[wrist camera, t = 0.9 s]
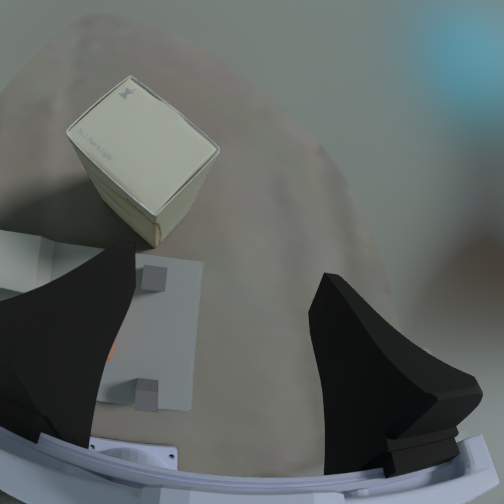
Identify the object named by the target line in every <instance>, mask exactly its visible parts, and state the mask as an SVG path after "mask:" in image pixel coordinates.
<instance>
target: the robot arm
mask: <svg viewBox="0 0 504 504" xmlns="http://www.w3.org/2000/svg"><path fill="white" fill-rule="evenodd" d="M135 288H136V243H135V242H129V241H124V240H120V241H118V242H116V243H114V244H113V245H111V246H110V247H108V248H107V249H105V250H103V251H102V252H100V253H99V254H97V255H96V256H94V257H93V258H91V259H90V260H88V261H86V262H85V263H83V264H81V265H80V266H78V267H76V268H75V269H73V270H71V271H70V272H68V273H66V274H65V275H63V276H61V277H59V278H57V279H55V280H53V281H51V282H49V283H47V284H45V285H43V286H40V287H38V288H35V289H33V290H30V291H28V292H25V293H23V294H20V295H18V296H15V297H12V298H8V299H5V300H2V301H0V490H2V491H3V492H5V493H7V494H9V495H10V496H12V497H14V498H16V499H18V500H20V501H22V502H24V503H25V504H465V503H467V502H468V501H471V500H473V499H474V498H476V497H478V496H480V495H481V494H484V493H485V492H487V491H489V490H490V489H492V488H494V487H495V486H497V485H498V484H499V480H498V477H497V474H496V471H495V468H494V465H493V462H492V460H491V457H490V455H489V452H488V449H487V446H486V444H485V441H484V439H483V437H482V434H478V435H475V436H472V437H470V438H466V439H464V440H462V441H460V442H458V443H456V441H455V438H454V437H456V436H457V435H458V433H459V432H458V430H457V427H456V426H457V425H458V424H459V423H460V422H461V421H463V420H464V419H465V418H466V417H467V416H468V415H469V414H470V413H471V412H472V411H473V410H474V409H475V408H476V407H477V406H478V405H479V403H480V402H481V399H482V396H483V393H482V390H481V388H480V386H479V384H478V382H477V380H476V379H475V377H474V376H472V375H469V374H467V373H465V372H462V371H460V370H458V369H456V368H454V367H451V366H450V365H448V364H446V363H444V362H442V361H440V360H439V359H437V358H435V357H434V356H432V355H430V354H429V353H427V352H426V351H424V350H423V349H421V348H419V347H418V346H417V345H415V344H414V343H412V342H411V341H410V340H408V339H407V338H406V337H404V336H403V335H402V334H401V333H399V332H398V331H397V330H396V329H394V328H393V327H392V326H391V325H390V324H389V323H388V322H387V321H385V320H384V319H383V318H382V317H381V316H380V315H379V314H378V313H377V312H376V311H375V310H374V309H373V308H372V307H371V306H370V305H369V304H368V303H367V302H366V301H365V300H364V299H363V298H362V297H361V296H360V295H359V294H358V293H357V292H356V291H355V290H354V289H353V288H352V287H351V286H350V285H349V284H348V283H347V282H346V281H345V280H344V279H343V278H342V277H341V276H339V275H337V274H330V273H324V274H323V277H322V279H321V282H320V285H319V287H318V290H317V292H316V295H315V297H314V300H313V302H312V304H311V307H310V309H309V312H308V314H309V327H310V336H311V340H312V345H313V349H314V354H315V358H316V362H317V367H318V371H319V375H320V380H321V386H322V393H323V404H324V420H325V463H324V476H310V477H287V478H257V477H234V476H220V475H209V474H200V473H192V472H185V471H178V470H177V449H176V447H174V446H167V445H154V444H144V443H135V442H126V441H119V440H112V439H106V438H100V437H94V436H90V434H91V426H92V420H93V415H94V409H95V404H96V399H97V395H98V390H99V386H100V382H101V378H102V375H103V371H104V367H105V364H106V361H107V358H108V355H109V352H110V350H111V348H112V345H113V343H114V341H115V339H116V336H117V334H118V332H119V330H120V327H121V325H122V323H123V321H124V319H125V316H126V314H127V312H128V310H129V307H130V304H131V301H132V298H133V295H134V292H135ZM90 445H94V446H95V447H91V446H90ZM170 454H172V455H174V456H173V457H170V456H169V455H170Z"/></svg>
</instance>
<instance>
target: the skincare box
mask: <svg viewBox="0 0 504 504" xmlns="http://www.w3.org/2000/svg"><path fill="white" fill-rule="evenodd" d="M66 135H67V137H68V138H69V140H70V142H71V144H72V145H73V147H74V149H75V151H76V153H77V155H78V157H79V158H80V160H81V162H82V164H83V166H84V167H85V169H86V171H87V173H88V175H89V177H90V178H91V180H92V182H93V184H94V186H95V187H96V189H97V191H98V193H99V194H100V196H101V198H102V200H103V201H104V202H105V203H106V204H107V205H108V206H109V207H110V208H111V209H112V210H113V211H114V212H115V213H116V214H117V215H118V216H119V217H120V218H121V219H122V220H123V221H124V222H126V223H127V224H128V225H129V226H130V227H131V228H132V229H133V230H134V231H135V232H136V233H138V234H139V235H140V236H141V237H142V238H143V239H144V240H145V241H147V242H148V243H149V244H150V245H151V246H152V247H153V248H157V246H158V245H159V244H160V243H161V242H162V241H163V240H164V239H165V238H166V237H167V236H168V234H169V233H170V232H171V231H172V230H173V229H174V228H175V227H176V226H177V224H178V223H179V222H180V221H181V220H182V219H183V218H184V217H185V215H186V214H187V213H188V212H189V210H190V208H191V206H192V204H193V202H194V200H195V197H196V195H197V194H198V192H199V190H200V187H201V186H202V184H203V182H204V180H205V178H206V176H207V174H208V172H209V170H210V168H211V167H212V165H213V163H214V161H215V159H216V157H217V156H218V154H219V152H220V148H219V146H218V145H217V144H216V143H214V142H213V141H212V140H211V139H210V138H209V137H208V136H207V135H205V134H204V133H203V132H202V131H201V130H200V129H198V128H197V127H196V126H195V125H194V124H193V123H191V122H190V121H189V120H188V119H187V118H186V117H184V116H183V115H182V114H181V113H180V112H179V111H177V110H176V109H175V108H174V107H172V106H171V105H170V104H168V103H167V102H166V101H164V100H163V99H162V98H161V97H159V96H158V95H157V94H155V93H154V92H153V91H151V90H150V89H149V88H147V87H146V86H145V85H143V84H142V83H141V82H139V81H138V80H137V79H135V78H134V77H133V76H128V77H127V78H126V79H125V80H123V81H122V82H121V83H119V84H118V85H117V86H115V87H114V88H113V89H112V90H110V91H109V92H108V93H106V94H105V95H104V96H103V97H102V98H100V99H99V100H98V101H97V102H96V103H95V104H93V105H92V106H91V107H90V108H89V109H88V110H87V111H85V112H84V113H83V114H82V115H81V116H80V117H79V118H78V119H77V120H76V121H75V122H74V123H73V124H72V125H71V126H70V127H69V128H68V129H67V130H66Z"/></svg>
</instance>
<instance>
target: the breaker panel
mask: <svg viewBox="0 0 504 504" xmlns="http://www.w3.org/2000/svg"><path fill="white" fill-rule="evenodd" d="M103 250H105V249H102V248H95V247H88V246H81V245H74V244H67V243H60V242H54V241H52V240H49V239H47V238H45V237H42V236H37V235H30V234H23V233H17V232H10V231H3V230H0V301H2V300H5V299H8V298H11V297H15V296H18V295H20V294H23V293H25V292H28V291H30V290H33V289H35V288H38V287H40V286H43V285H45V284H47V283H49V282H51V281H53V280H55V279H57V278H59V277H61V276H63V275H65V274H66V273H68V272H70V271H71V270H73V269H75V268H76V267H78V266H80V265H81V264H83V263H85V262H86V261H88V260H90V259H91V258H93V257H94V256H96V255H97V254H99V253H100V252H102V251H103ZM203 263H204V262H200V261H192V260H185V259H177V258H169V257H161V256H154V255H146V254H139V253H136V288H135V292H134V295H133V298H132V301H131V304H130V307H129V310H128V312H127V314H126V316H125V319H124V321H123V323H122V325H121V327H120V330H119V332H118V334H117V336H116V339H115V351H114V355H113V356H112V358H111V359H110V361H109V362H106V364H105V367H104V371H103V375H102V378H101V382H100V386H99V390H98V395H97V399H96V400H97V401H103V402H109V403H116V404H123V405H130V406H135V410H138V411H147V412H158V409H170V410H185V411H191V408H192V391H193V375H194V361H195V348H196V335H197V324H198V313H199V302H200V292H201V282H202V272H203Z"/></svg>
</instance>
